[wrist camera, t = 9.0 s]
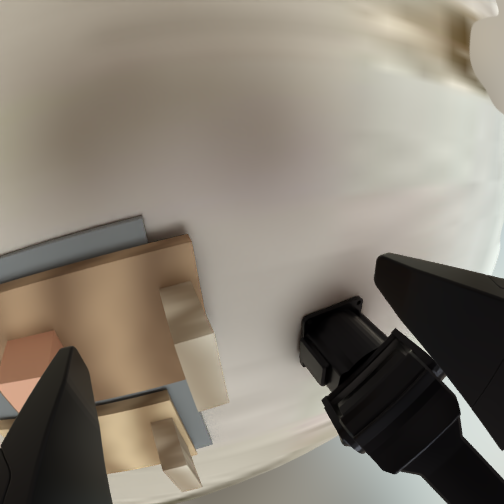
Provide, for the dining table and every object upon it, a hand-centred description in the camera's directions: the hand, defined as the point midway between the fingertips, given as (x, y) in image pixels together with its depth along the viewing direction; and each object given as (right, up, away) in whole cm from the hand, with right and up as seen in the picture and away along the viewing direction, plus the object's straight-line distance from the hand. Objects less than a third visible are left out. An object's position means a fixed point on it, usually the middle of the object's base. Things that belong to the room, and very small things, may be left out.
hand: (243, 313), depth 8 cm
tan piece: (-15, -16, +16) cm, 27 cm away
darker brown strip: (-12, -4, +11) cm, 17 cm away
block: (-14, -6, +9) cm, 17 cm away
